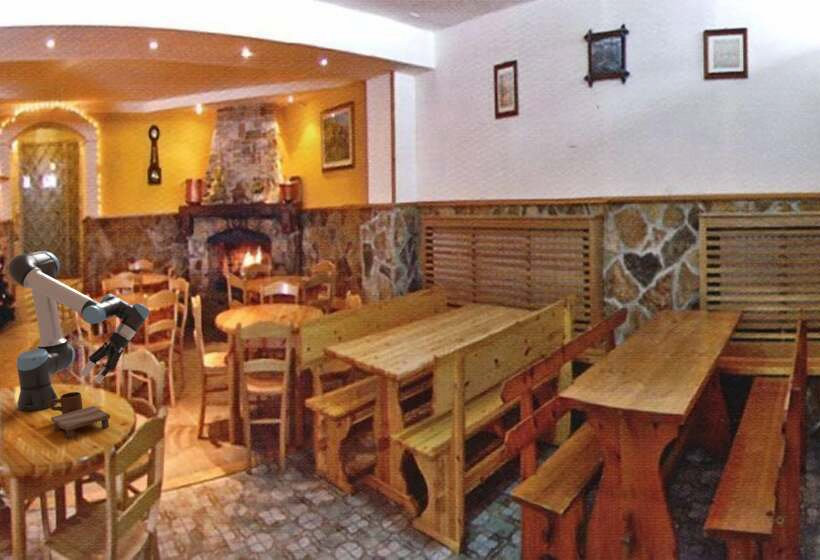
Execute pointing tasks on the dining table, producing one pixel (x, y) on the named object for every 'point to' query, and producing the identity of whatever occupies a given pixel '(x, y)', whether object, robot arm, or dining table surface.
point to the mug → (67, 402)
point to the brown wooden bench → (80, 419)
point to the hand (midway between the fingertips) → (89, 378)
